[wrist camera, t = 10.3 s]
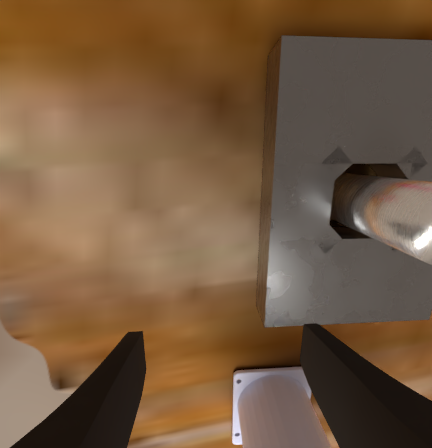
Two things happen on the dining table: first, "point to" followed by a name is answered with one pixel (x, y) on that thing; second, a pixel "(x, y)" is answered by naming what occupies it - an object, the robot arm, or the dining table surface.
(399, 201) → the steel peg
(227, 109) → the dining table surface
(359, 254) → the dock plate
